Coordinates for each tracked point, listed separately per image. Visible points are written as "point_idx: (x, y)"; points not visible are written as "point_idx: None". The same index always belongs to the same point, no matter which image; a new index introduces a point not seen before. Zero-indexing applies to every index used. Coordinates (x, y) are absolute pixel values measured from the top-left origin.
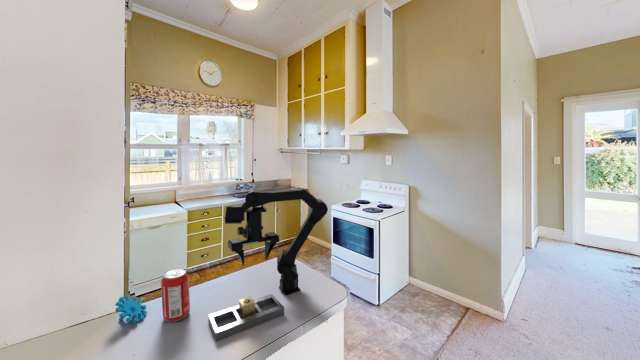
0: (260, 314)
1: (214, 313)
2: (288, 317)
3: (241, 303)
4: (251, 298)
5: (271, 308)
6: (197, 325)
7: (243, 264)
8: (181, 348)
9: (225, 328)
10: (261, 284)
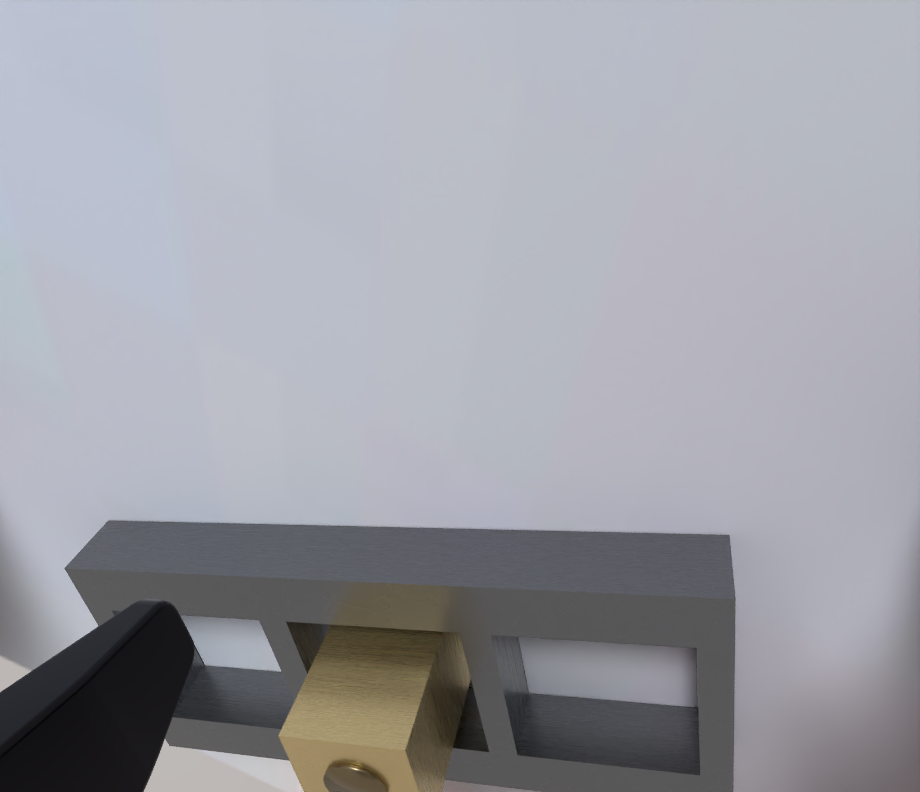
0: (492, 768)
1: (111, 576)
2: (742, 782)
3: (300, 781)
4: (404, 775)
5: (612, 766)
6: (37, 512)
7: (168, 693)
8: (20, 640)
9: (225, 743)
10: (790, 64)
